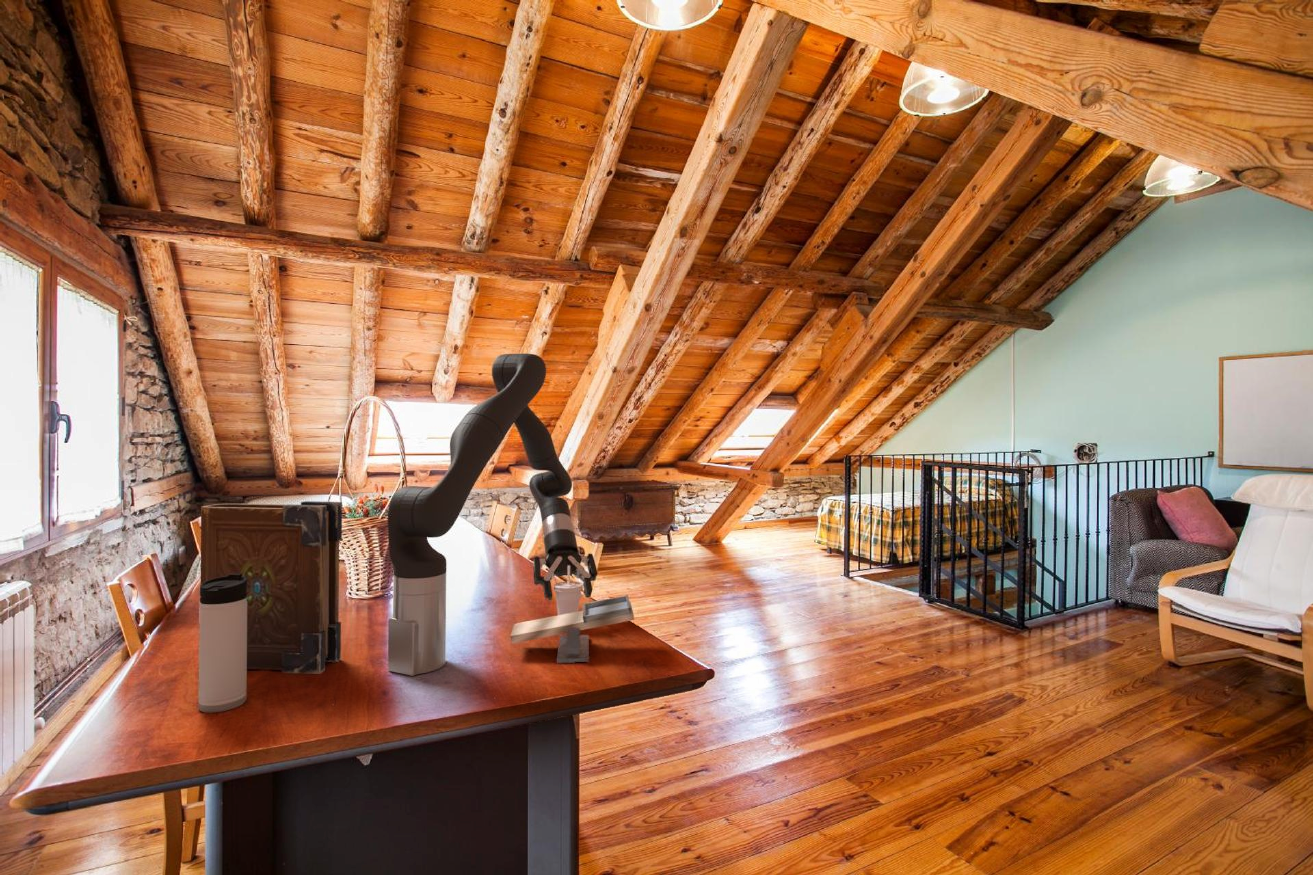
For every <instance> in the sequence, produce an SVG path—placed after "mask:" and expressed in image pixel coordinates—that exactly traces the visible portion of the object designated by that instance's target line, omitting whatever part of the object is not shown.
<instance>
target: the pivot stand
mask: <svg viewBox="0 0 1313 875" xmlns="http://www.w3.org/2000/svg"><path fill="white" fill-rule="evenodd" d="M571 613H573V612H571ZM589 637H590V636H589V634H581V630H580V627H579V628H567V633H566V634H565V635H564V634H562V635H559V639H558V640H559V642H558V648H557V657H556V664H576V663H575V662H587V663H590V650H589V648H590V646H589V645H590V644H589V641H590V640H589Z"/></svg>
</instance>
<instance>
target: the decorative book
mask: <svg viewBox="0 0 1313 875" xmlns="http://www.w3.org/2000/svg"><path fill="white" fill-rule="evenodd" d="M342 530H343V501H316V500H315V501H310V500H309V501H308V500H307V501H302V502H300V504H286V503H284V504H281V503H280V504H278V503H275V504H274V503H271V504H270V503H216V504H208V505H202V506H200V585H201V584H202V583H203V582H205V581H208V580H211V579H214V578H218V577H224V576H228V575H229V574H242V576H244V577H246V578H247V591H246V592H247V600H246V601H247V670H248V669H249V670H276V671H277V670H278V671H279V670H281V673H282V674H310V675H311V674H313V675H314V674H315V675H317V674H318V675H319V674H323V673H324V672H325V671H326V663H325V662H332V663H331V664H337V663H338V662H340V661H341V660H342V653H341V652H342V636H341V635H342V621H339V617H340V616H339V614H340V613H339V606H340V605H339V604H340V602H339V600H340V598H339V597H340V595H339V593H340V587H339V586H340V541H342V537H343V536H342V535H343V531H342ZM339 660H340V661H339ZM336 662H337V663H336Z"/></svg>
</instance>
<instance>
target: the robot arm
mask: <svg viewBox="0 0 1313 875" xmlns="http://www.w3.org/2000/svg"><path fill="white" fill-rule="evenodd" d="M491 376H492V381H493V384H494V387H495V389H496V391H497V393H496V394H494V395H492V396H490V397H488V398H486V399H485V400H483V401H481V402H480V403H478V404H476V405H475V406H474V407H473V408H471V409H470V410H469V411H468V412H467V413H466V414H465V415H464V416H463V418H462V419H461V420H460V422H459V423H458V425H457V426H456V427H455V429H454V430H453V432H452V434H451V436H450V440H449V453H450V454H449V455H450V464H449V467H448V469H447V471H446V472H445V474H444V476H443V477H442V478H441V479H440V480H439V482H438V483H437V484H436V485H434V486H417V485H412V486H411V485H406V486H402V487H400V488H398V489H397V490H396V491H395V492H394V493H393V495H392V497H391V499H390V501H389V504H388V509H387V533H388V534H387V536H388V537H387V538H388V553H389V554H388V556H389V559H390V563H391V564H392V568H393V578H392V579H393V585H392V586H393V587H392V590H393V592H392V617H390V618H389V619H388V625H387V627H388V631H387V632H388V636H387V642H388V643H387V644H388V645H387V651H388V652H387V670H388V671H389V672H394V673H397V674H402V675H407V676H410V677H414V676H416V675H419V674H426V673H431V672H434V671H436V670H438V669H441V668H442V667H444V666H445V664H446V654H447V653H446V648H447V647H446V645H447V644H446V643H447V642H446V639H447V638H446V637H447V636H446V635H447V634H446V633H447V632H446V630H447V620H446V619H447V616H446V615H447V558H446V557H445V555H443V554H442V553H440V551H437V550H436V549H434V548H433V547H432V545H431V544H430V543H429V541H428V539H429V538H440V537H442V536H444V535H446V534H447V533H448V532H449V531H450V530H451V529H452V527H453V526H454V524H455V523H456V521H457V520H458V517H459V516H460V514H461V512H462V509H463V507H464V506H465V504H466V501H467V500H468V498H469V496H470V494H471V492H472V490H473V488H474V486H475V485H476V482H477V481H478V479H479V477H480V476H481V474H482V473H483V470H484V469H485V468H486V466H487V464H488V463H489V461H490V459H491V458H492V457H493V455H495V453H496V452H497V450H498V449H499V447H500V445H501V444H502V443H503V440H504V439H505V437H506V436H507V434H508V433H509V431H510V430H511V428H512V426H513V425H514V426H515V427H516V430H517V432H518V434H519V437H520V440H521V441H522V444H523V448H524V451H525V454H526V458H527V461H528V464H529V466H530V467H531V468H532V469H533V470H536V471H543V472H540V473H536V474H534V475H532V476H531V478H530V479H529V482H528V483H529V484H528V486H529V490H530V492H531V494H532V497H533V498H534V500H535V502H536V504H537V506H538V508H539V509H538V510H539V511H540V517H541V524H542V530H541V531H542V540H543V544H544V551H545V558H540V557H539V556H537V555H536V556H534V558H533V563H532V569H533V583H534V585H536V586H537V585H540V586H542V588H543V594H544V595H543V596H544V598H545V599H547V601H549V602H550V601H552V598H553V591H552V590H553V589H552V585H551V583H552V581H553V579H554V577H555V576H557V577H564V576H567V577H568V566H570V577H571V576H572V575H573V576H574V577H575V578H576V579H578V580H580V581H581V582H582V587H583V591H584V596H585V598H590V596H591V595H592V593H593V585H592V582H594V581H596V580H597V576H598V573H599V572H598V568H597V565H596V561H595V559H594V556H593V553H588V554H587V555H584V556H583V555H580V552H579V547H578V542H577V538H576V537H577V536H576V532H575V526H574V523H573V521H572V518H571V517H572V516H571V512H570V507H569V503H568V501H567V500H566V499H565V498H563V497H564V496H567V495H569V493H570V492H571V491H572V487H573V480H572V478H571V476H570V474H569V473H568V471H567V469H566V468H565V467H564V465H563V464H562V463H561V461H560V459H559V457H558V455H557V452H556V449H555V445H554V441H553V437H552V435H551V433H550V431H549V429H548V427H546V425H545V424H544V422H543V421H542V420H541V419H540V418H539V417H538V416H537V415H536V414H535V412H533V410H532V409H531V408H530V407H529V404H530V403H531V401H533V399H534V398H535V397H536V396H537V394H538V393H539V392H540V391H541V389H542V387H543V386H544V383H545V380H546V376H547V366H546V363H545V361H544V359H543V358H542V357H541V356H539V355H537V354H533V353H527V352H526V353H504V354H500V355H497V356H496V357H495V359H494V360H493V363H492V365H491ZM581 563H583V564H584V566H586V567H587V570H588V571H587V570H586V569H585V567H584V566H583V565H582V564H581ZM544 565H545V566H546V567H547V568H548V571H547V573H546V574H545V575H543V576H542V574H541V569H542V568H543V566H544Z"/></svg>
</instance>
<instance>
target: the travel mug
mask: <svg viewBox="0 0 1313 875" xmlns="http://www.w3.org/2000/svg"><path fill="white" fill-rule="evenodd" d="M246 591H247V578H246V577H244V576H242V574H229V575H228V576H224V577H218V578H214V579H211V580H208V581H205V582H203V583H202V584H201V583H200V585H199V601H198V603H199V608H198V706H197V707H198V710H199V711H200V712H203V713H209V714H213V713H222V712H226V711H231V710H234V709H236V708H238V707H240V706H242V705H244V703H246V701H247V681H248V679H247V678H248V677H247V674H248V673H247V672H248V671H247V670H248V669H247V601H246V600H247V592H246Z"/></svg>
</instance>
